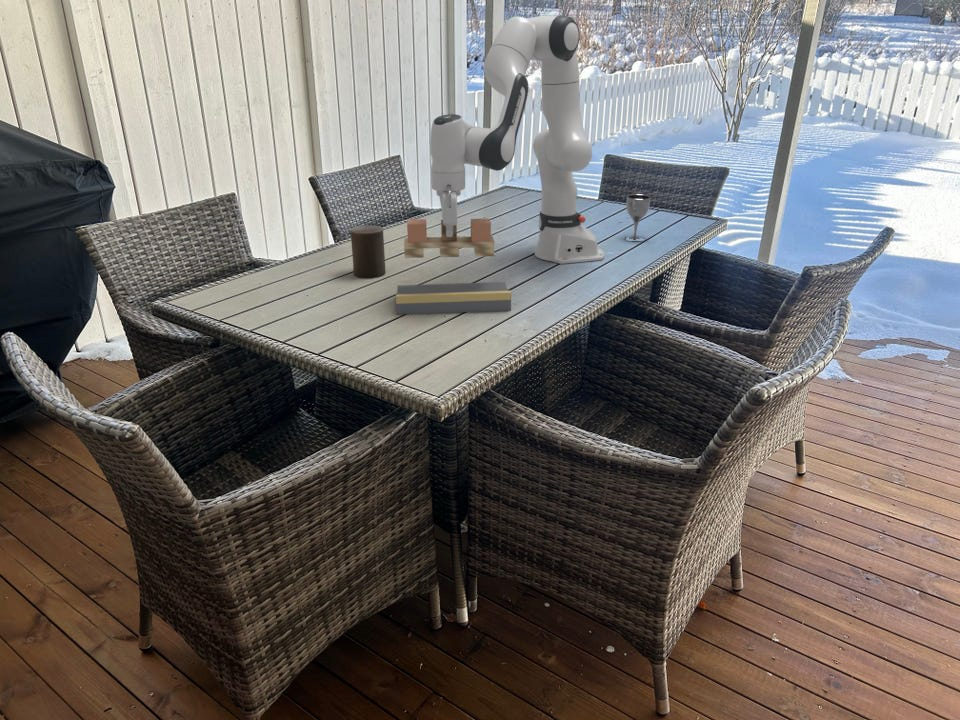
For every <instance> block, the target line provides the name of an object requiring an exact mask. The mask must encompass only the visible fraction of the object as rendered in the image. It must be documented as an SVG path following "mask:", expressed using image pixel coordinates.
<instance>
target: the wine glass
mask: <svg viewBox="0 0 960 720" xmlns="http://www.w3.org/2000/svg"><path fill="white" fill-rule="evenodd" d="M651 199H652V197H651V196H650V195H648V194H644V193H643V194H642V193H641V194H640V193H633V194H628V195H626V210H627V211H626V212H627V214H628V215H629V217H630V218H631V220H632V222H633V227H634V228H633V229H634V230H633V231H634V232H633V235H631V237H629V236H628V237H629V239H633V240H636V239H640V237H641V236H637V231H638V225H639V223H640V222H641V220H642V219H643V218H644V217H645V216H646V215H647V214H648V211H649V209H650V204H651Z"/></svg>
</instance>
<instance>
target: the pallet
mask: <svg viewBox="0 0 960 720" xmlns="http://www.w3.org/2000/svg"><path fill="white" fill-rule="evenodd" d="M440 221H441V222H440V225H441V226H440V228H441V229H440V232H441V233H440V234H441V237H440V236H428V237H427V243H408V237H404V241H403V245H404V247H403V248H404V250H403V251H404V258H405V259H411V258H412V259H415V258H417V259H419V258H424V254H425V253H424V249H439V255H440V256H439V257H440V258H459V257H460V249H463V248H464V249H466V248H467V249H468V248H469V249H471V248H472V249H473V251H474V255H475V257H477V258H478V257H479V258H480V257H484V258H485V257H495V239H494V237H493V235H491V242H472V240H471V236H458V235H457V232H458V230H457V226H458V224H457V225H455V226H453V236H452V237H447V236H446V226H445V225H443V219H441V220H440Z"/></svg>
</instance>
